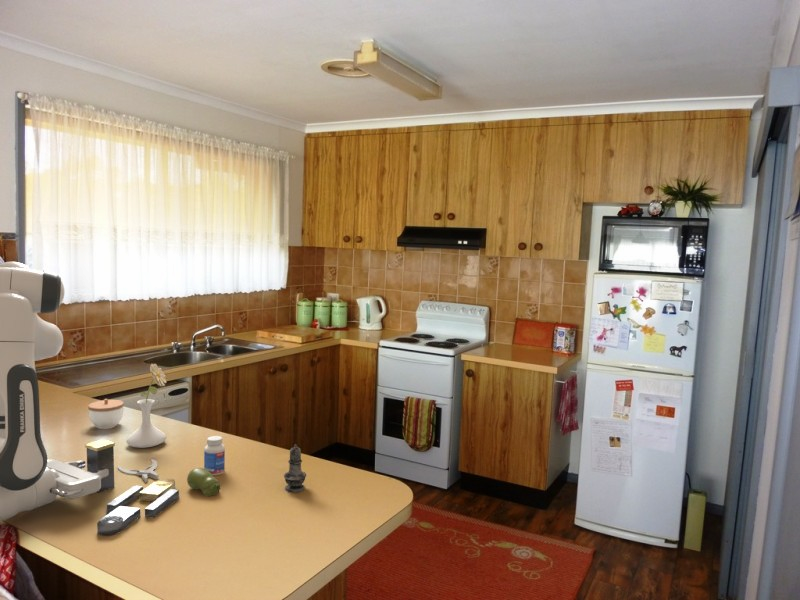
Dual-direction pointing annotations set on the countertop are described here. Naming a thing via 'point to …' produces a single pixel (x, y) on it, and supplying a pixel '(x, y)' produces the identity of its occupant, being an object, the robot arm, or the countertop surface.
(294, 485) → the salt shaker
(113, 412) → the lidded jar
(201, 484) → the pear
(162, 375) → the flower in vase
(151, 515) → the grey metal bars
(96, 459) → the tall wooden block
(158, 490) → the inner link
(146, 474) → the pliers
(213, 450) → the pill bottle
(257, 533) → the countertop surface
